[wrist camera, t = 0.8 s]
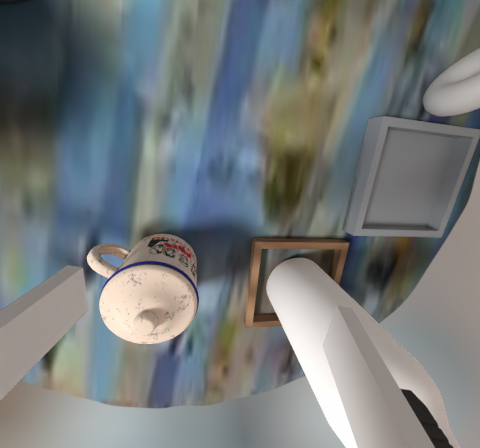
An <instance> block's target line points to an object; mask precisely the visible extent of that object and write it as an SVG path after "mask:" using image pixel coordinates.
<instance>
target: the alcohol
mask: <svg viewBox="0 0 480 448" xmlns="http://www.w3.org/2000/svg"><path fill="white" fill-rule="evenodd" d="M267 294H268V297H269V299H270V301H271V303H272V306H273V308H274V310H275V312H276V314H277V316H278V318H279V320H280V322H281V324H282V327H283V329H284V331H285V333H286V335H287V337H288V339H289V341H290V343H291V345H292V347H293V350H294V352H295V354H296V356H297V358H298V360H299V362H300V364H301V366H302V368H303V371H304V373H305V375H306V377H307V379H308V381H309V383H310V385H311V387H312V389H313V391H314V394H315V395H316V398H317V400H318V402H319V404H320V406H321V408H322V410H323V412H324V415H325V416H326V419H327V421H328V423H329V424H330V426H331V428H332V429H333V430H334V432H335V433H336V435H337V436H338V437H339V439H340V440H341V441H342V443H343V444H344V445H345V447H346V448H357V445H356V442H355V439H354V436H353V433H352V430H351V427H350V424H349V422H348V419H347V416H346V413H345V410H344V407H343V404H342V401H341V398H340V395H339V392H338V389H337V386H336V384H335V381H334V378H333V375H332V372H331V369H330V366H329V363H328V360H327V357H326V354H325V351H324V348H323V342H324V340H325V337H326V334H327V332H328V329H329V326H330V323H331V321H332V318H333V315H334V312H335V310H336V307H337V306H342V307H349V308H352V309H353V311H354V312H355V314H356V316H357V317H358V319H359V321H360V322H361V324H362V326H363V327H364V329H365V331H366V333H367V334H368V336H369V338H370V339H371V341H372V343H373V344H374V346H375V348H376V349H377V351H378V353H379V354H380V356H381V358H382V359H383V361H384V363H385V364H386V366H387V368H388V370H389V371H390V373H391V375H392V376H393V378H394V380H395V381H396V383H397V385H398V386H399V388H400V389H406V390H411V391H412V392H413V393H414V394H415V395H416V396H417V397H418V398H419V399H420V400H421V401H422V402H423V403H424V405H425V406H426V407H427V408H428V410H429V411H430V413H431V414H432V416H433V417H434V419H435V420H436V422H437V423H438V427H439V428H440V429H441V430H442V431H443V433H444V434H445V436H446V437H447V439H448V440H449V444H450V445H452V446H453V448H460V446H459V444H458V442H457V441H456V439H455V437H454V435H453V434H452V432H451V430H450V428H449V423H448V419H447V414H446V411H445V406H444V403H443V400H442V397H441V394H440V391H439V389H438V388H437V386H436V385H435V383H434V382H433V381H432V379H431V378H430V376H429V375H428V373H427V372H426V371H425V369H424V368H423V366H422V365H421V364H420V363H419V362H418V361H417V360H416V359H415V358H414V357H413V356H412V355H411V354H410V353H409V352H408V351H407V350H406V349H404V348H403V346H401V345H400V344H399V343H398V342H397V341H396V340H395V339H394V338H393V337H392V336H391V335H390V334H389V333H388V332H387V331H386V330H385V329H384V328H383V327H381V325H380V324H379V323H377V322H376V321H375V320H374V319H373V318H372V317H371V316H370V315H369V314H368V313H367V312H366V311H365V310H364V309H363V308H362V307H361V306H360V305H359V304H358V303H357V302H356V301H354V300H353V299H352V298H351V297H350V296H349V295H348V294H347V293H346V292H345V291H344V290H343V289H342V288H341V287H340V286H339V285H338V284H337V283H336V282H335V281H334V280H333V279H331V278H330V277H329V276H328V275H327V274H326V273H325V272H324V271H323V270H322V269H321V268H320V267H319V266H318V265H317V264H316V263H315V262H313V261H311V260H309V259H306V258H292V259H288V260H285V261H283V262H282V263H280V264H279V265H277V266H276V267H275V269H274V270H273V271H272V273H271V274H270V276H269V279H268V281H267Z"/></svg>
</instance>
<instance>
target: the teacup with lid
mask: <svg viewBox="0 0 480 448" xmlns="http://www.w3.org/2000/svg"><path fill="white" fill-rule="evenodd" d="M101 254H111V255H115V256H117V257H120V258H122V259H124V262H123V263H122V265H121V266H120V268H117V267H114V266H112V265H111V264H109V263H107V262H105V261H104V260H103V259H102V258H101V257H100V256H99V255H101ZM87 261H88V264H89V265H90V267H91V268H92V269H93V270H95V271H96V272H97V273H99V274H101V275H103V276H105V277H107V278H109V279H108V280H107V281H106V283H105V285H104V286H103V288H102V291H101V294H100V303H99V307H100V313H101V316H102V319H103V321H104V323H105V324H106V326H107V327H108V328H109V329H110V330H111V331H112V332H113V333H114V334H116V335H117V336H119V337H121V338H123V339H125V340H127V341H130V342H134V343H140V344H154V343H160V342H164V341H167V340H169V339H172V338H174V337H176V336H177V335H179V334H180V333H181V332H183V331H184V330H185V329H186V328H187V327H188V326H189V325H190V323H191V322H192V320H193V318H194V317H195V315H196V312H197V309H198V303H199V297H198V292H197V289H196V287H197V259H196V255H195V253H194V251H193V249H192V247H191V246H190V245H189V244H188V243H187V242H186V241H184V240H183V239H181V238H179V237H177V236H174V235H171V234H154V235H150V236H148V237H145V238H143V239H142V240H140V241H139V242H138V243H137V244H136V245H135V246H134V247H133V249H132V250H131V251H130V250H128V249H126V248H124V247H122V246H119V245H116V244H100V245H97V246H95V247H94V248H93V249H92V250H91V251H90V252H89V254H88V256H87Z"/></svg>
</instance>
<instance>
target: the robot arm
mask: <svg viewBox="0 0 480 448" xmlns="http://www.w3.org/2000/svg"><path fill="white" fill-rule="evenodd" d="M23 1H26V0H0V3H1V4H8V3H17V2H23ZM87 311H88V304H87V296H86V289H85V281H84V274H83V268H82V267H75V266H69V265H68V266H66V267H65V268H63V269H62V270H60V271H59V272H57V273H56V274H54V275H53V276H51V277H50V278H48V279H47V280H45V281H44V282H42V283H41V284H39V285H38V286H36V287H35V288H33V289H32V290H30V291H29V292H27V293H26V294H24V295H23V296H21V297H20V298H18V299H17V300H16V301H14V302H13V303H11V304H10V305H8V306H7V307H5V308H4V309H2V310H1V311H0V400H1V399H2V398H3V397H4V396H5V395H6V394H7V393H8V392H9V391H10V390H11V389H12V388H13V387H14V386H15V385H16V384H17V383H18V382H19V381H20V380H21V379H22V378H23V377H24V376H25V375H26V374H27V373H28V372H29V370H30V369H31V368H32V367H33V366H34V365H35V364H36V363H37V362H38V361H39V360H40V359H41V358H42V357H43V356H44V355H45V354H46V353H47V352H48V351H49V350H50V349H51V348H52V347H53V346H54V345H55V344H56V343H57V342H58V341H59V340H60V339H61V338H62V337H63V336H64V335H65V334H66V333H67V332H68V330H69V329H70V328H71V327H72V326H73V325H74V324H75V323H76V322H77V321H78V320H79V319H80V318H81V317H82V316H83V315H84V314H85V313H86V312H87ZM323 348H324V351H325V354H326V357H327V360H328V363H329V366H330V369H331V372H332V375H333V378H334V381H335V384H336V386H337V389H338V392H339V395H340V398H341V401H342V404H343V407H344V410H345V413H346V416H347V419H348V422H349V424H350V427H351V430H352V433H353V436H354V439H355V442H356V445H357V448H453V446H452V445H450V444H449V440H448V439H447V437H446V436H445V434H444V433H443V431H442V430H441V429H440V428H439V427H438V423H437V422H436V420H435V419H434V417H433V416H432V414H431V413H430V411H429V410H428V408H427V407H426V406H425V405H424V403H423V402H422V401H421V400H420V399H419V398H418V397H417V396H416V395H415V394H414V393H413V392H412V391H411V390H406V389H400V388H399V386H398V385H397V383H396V381H395V380H394V378H393V376H392V375H391V373H390V371H389V370H388V368H387V366H386V364H385V363H384V361H383V359H382V358H381V356H380V354H379V353H378V351H377V349H376V348H375V346H374V344H373V343H372V341H371V339H370V338H369V336H368V334H367V333H366V331H365V329H364V327H363V326H362V324H361V322H360V321H359V319H358V317H357V316H356V314H355V312H354V311H353V309H352V308H349V307H342V306H337V307H336V310H335V312H334V315H333V318H332V321H331V323H330V326H329V329H328V332H327V334H326V337H325V340H324V342H323Z"/></svg>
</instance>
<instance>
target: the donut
mask: <svg viewBox="0 0 480 448" xmlns="http://www.w3.org/2000/svg"><path fill="white" fill-rule="evenodd" d="M423 105H424V108H425V110H426V111H427V112H428V113H430V114H432V115H435V116H455V115H459V114H463V113H467V112H470V111H473V110H476V109H478V108H480V48H478V49H476V50H475V51H473V52H471V53H470V54H468V55H466V56H465V57H463V58H461V59H460V60H459V61H457V62H456V63H454V64H453V65H451V66H450V67H449V68H447V69H446V70H445V71H444V72H443V73H441V74H440V75H439V76H438V77H437V78H436V79H435V80H434V81H433V82H432V83H431V84H430V85H429V87H428V89H427V90H426V92H425V94H424V96H423Z"/></svg>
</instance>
